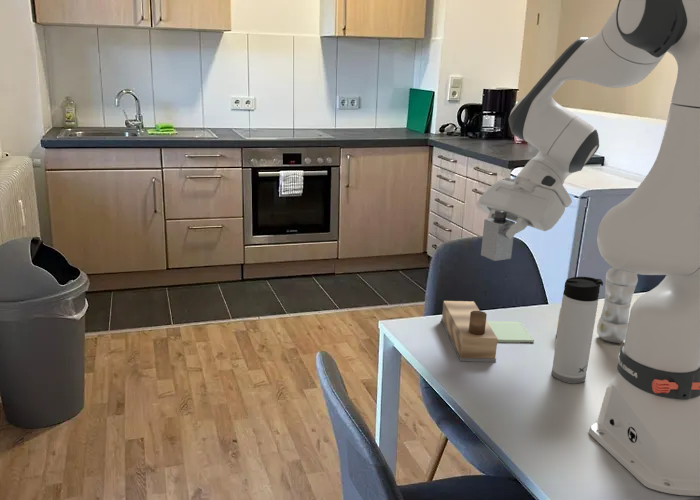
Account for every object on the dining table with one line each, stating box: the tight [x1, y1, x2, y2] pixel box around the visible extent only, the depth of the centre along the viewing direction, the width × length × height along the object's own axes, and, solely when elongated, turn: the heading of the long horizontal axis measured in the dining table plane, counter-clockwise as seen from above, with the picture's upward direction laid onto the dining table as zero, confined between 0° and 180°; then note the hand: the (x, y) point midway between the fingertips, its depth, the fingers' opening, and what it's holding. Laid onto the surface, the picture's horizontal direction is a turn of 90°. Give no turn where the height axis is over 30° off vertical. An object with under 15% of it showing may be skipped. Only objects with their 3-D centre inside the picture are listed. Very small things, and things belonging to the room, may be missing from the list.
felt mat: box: [486, 320, 535, 344], centre depth 142 cm, size 10×10×1 cm
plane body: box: [440, 300, 498, 363], centre depth 136 cm, size 21×7×9 cm, turn 3°
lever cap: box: [480, 210, 516, 262], centre depth 135 cm, size 4×4×10 cm
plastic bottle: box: [596, 267, 639, 344], centre depth 137 cm, size 6×7×20 cm
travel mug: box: [551, 276, 604, 384], centre depth 120 cm, size 6×7×20 cm
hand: (496, 232), depth 135 cm, fingers closed on lever cap, 4 cm apart
